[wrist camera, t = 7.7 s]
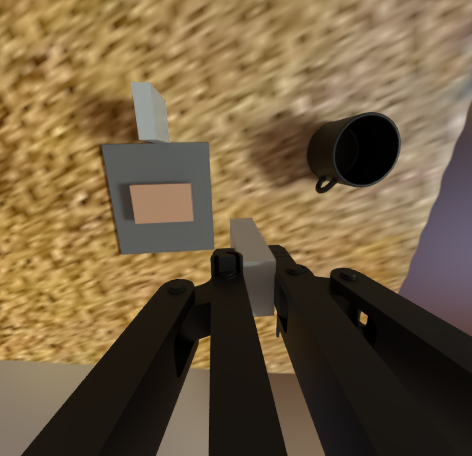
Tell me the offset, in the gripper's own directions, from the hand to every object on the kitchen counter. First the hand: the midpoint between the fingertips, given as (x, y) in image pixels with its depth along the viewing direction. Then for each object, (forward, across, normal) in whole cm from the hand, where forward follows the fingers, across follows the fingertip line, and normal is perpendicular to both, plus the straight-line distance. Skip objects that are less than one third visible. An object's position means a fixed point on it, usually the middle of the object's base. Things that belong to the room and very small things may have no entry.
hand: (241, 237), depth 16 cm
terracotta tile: (+23, -6, -2) cm, 23 cm away
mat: (+24, -10, -2) cm, 27 cm away
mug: (+25, +18, +4) cm, 31 cm away
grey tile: (+25, -9, +10) cm, 28 cm away
